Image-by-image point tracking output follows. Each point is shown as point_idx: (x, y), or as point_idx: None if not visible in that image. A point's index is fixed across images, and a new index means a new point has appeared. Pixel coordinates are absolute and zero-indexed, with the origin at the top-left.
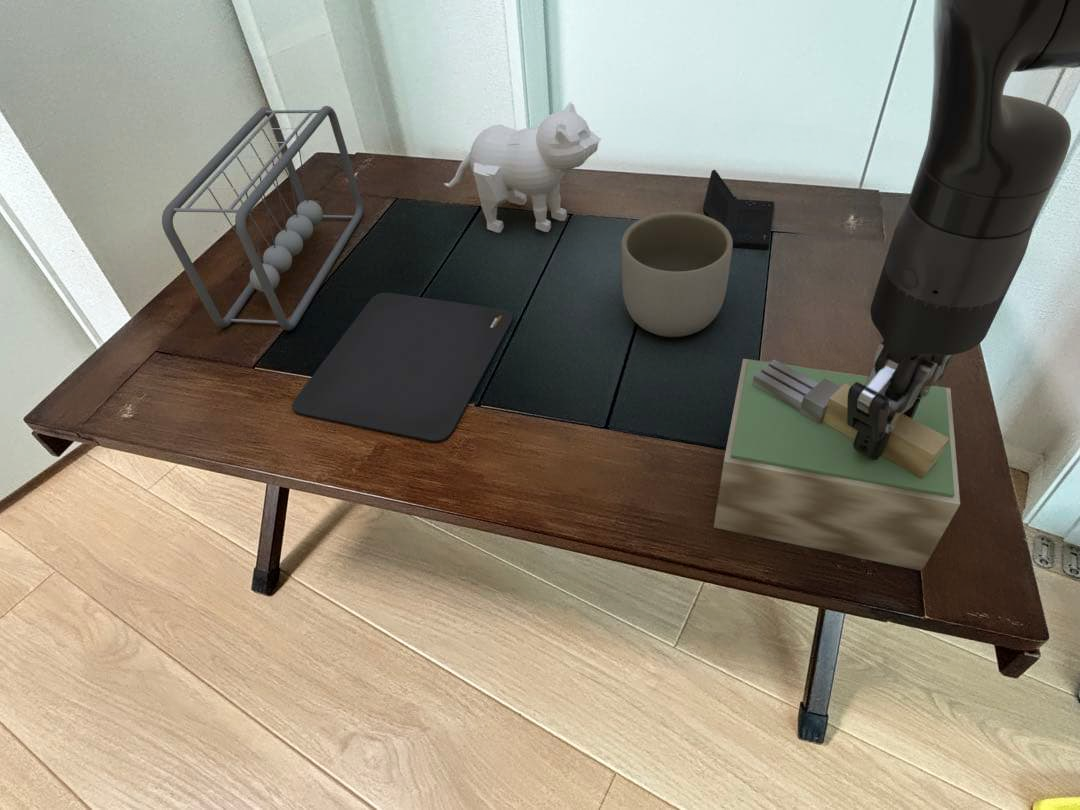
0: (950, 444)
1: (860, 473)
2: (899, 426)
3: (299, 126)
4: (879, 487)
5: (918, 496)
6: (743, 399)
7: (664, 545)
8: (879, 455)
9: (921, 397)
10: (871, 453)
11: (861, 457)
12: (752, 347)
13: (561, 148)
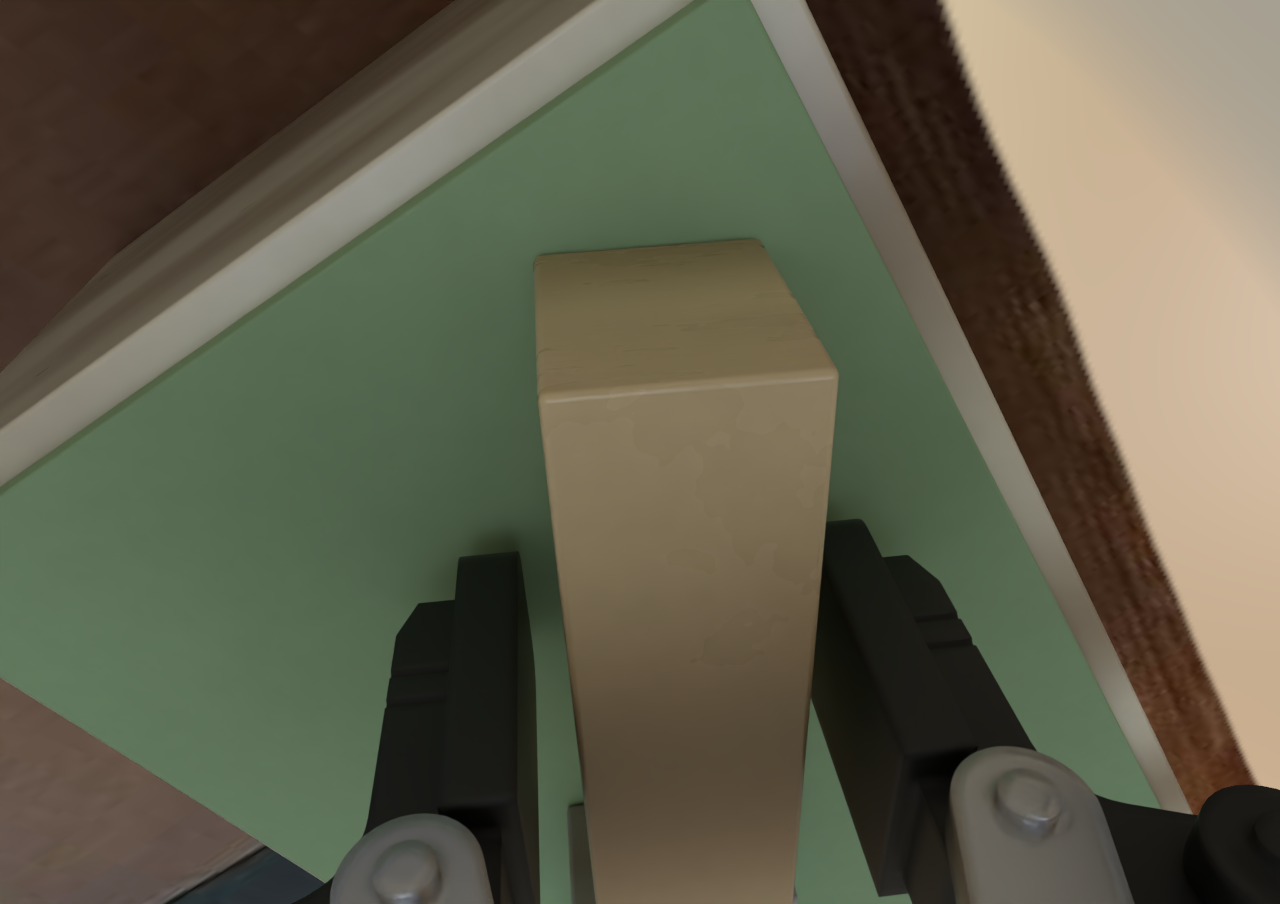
0: (296, 289)
1: (960, 496)
2: (724, 681)
3: None
4: (959, 366)
5: (881, 164)
6: None
7: (1124, 549)
8: (869, 543)
9: (482, 858)
10: (946, 596)
11: None
12: (257, 874)
13: None
